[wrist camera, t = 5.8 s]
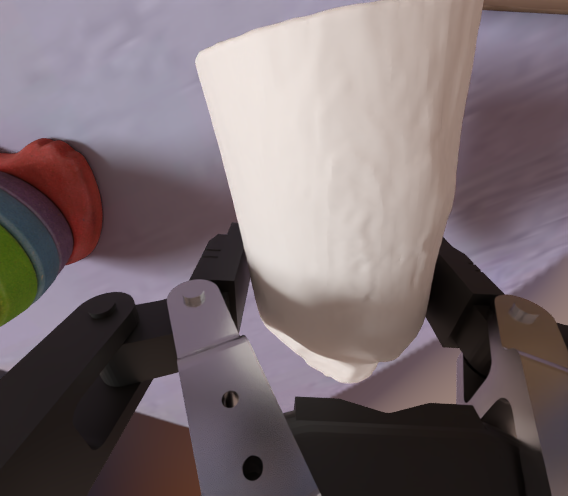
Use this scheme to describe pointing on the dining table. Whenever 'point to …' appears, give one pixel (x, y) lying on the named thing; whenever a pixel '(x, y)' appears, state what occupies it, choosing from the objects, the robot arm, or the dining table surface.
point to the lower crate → (528, 6)
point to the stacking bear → (43, 219)
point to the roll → (344, 168)
